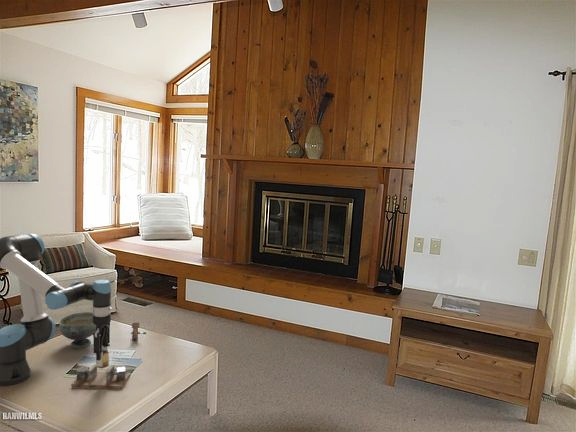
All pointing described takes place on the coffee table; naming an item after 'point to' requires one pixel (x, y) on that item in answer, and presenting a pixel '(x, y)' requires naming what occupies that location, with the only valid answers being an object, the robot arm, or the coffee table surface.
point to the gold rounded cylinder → (105, 359)
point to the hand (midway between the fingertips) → (101, 363)
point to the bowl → (78, 328)
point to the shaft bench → (98, 378)
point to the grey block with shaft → (120, 373)
